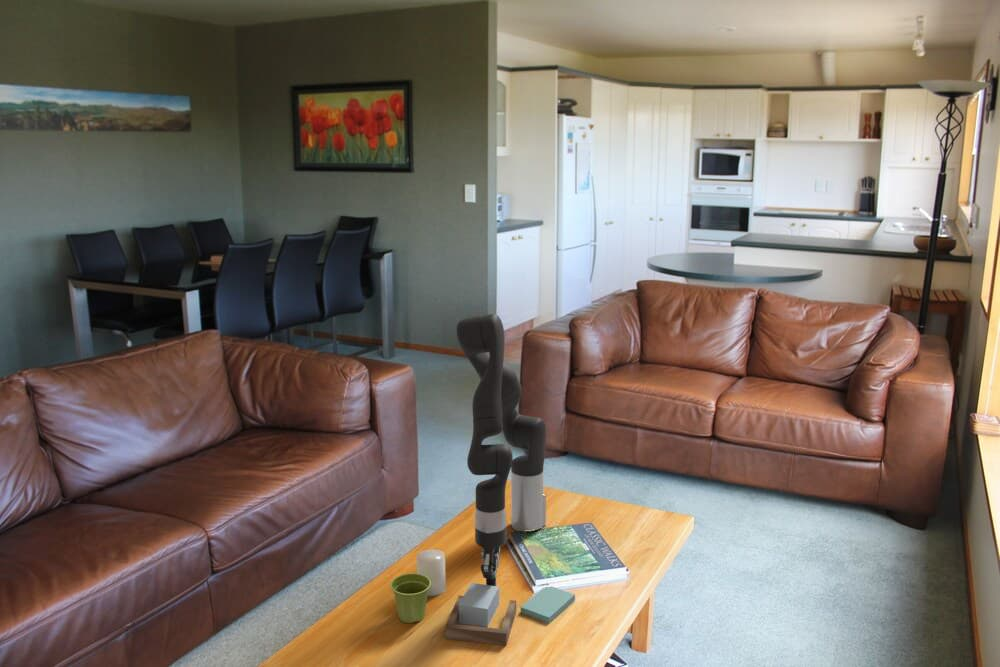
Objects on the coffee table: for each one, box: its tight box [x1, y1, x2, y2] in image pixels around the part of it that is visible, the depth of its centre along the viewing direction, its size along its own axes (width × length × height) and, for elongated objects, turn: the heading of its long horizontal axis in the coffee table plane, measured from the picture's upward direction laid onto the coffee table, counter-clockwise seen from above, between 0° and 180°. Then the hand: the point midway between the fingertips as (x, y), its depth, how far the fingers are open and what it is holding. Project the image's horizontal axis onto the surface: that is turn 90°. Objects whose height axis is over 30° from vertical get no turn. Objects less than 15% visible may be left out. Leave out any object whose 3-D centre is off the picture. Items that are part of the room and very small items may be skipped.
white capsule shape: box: [416, 548, 447, 597], centre depth 207 cm, size 7×7×9 cm
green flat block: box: [520, 585, 576, 624], centre depth 200 cm, size 12×8×2 cm, turn 145°
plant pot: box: [390, 572, 431, 624], centre depth 195 cm, size 9×9×9 cm
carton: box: [458, 582, 500, 628], centre depth 197 cm, size 10×7×5 cm
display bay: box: [444, 595, 517, 646], centre depth 192 cm, size 14×14×3 cm
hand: (491, 588), depth 203 cm, fingers closed
